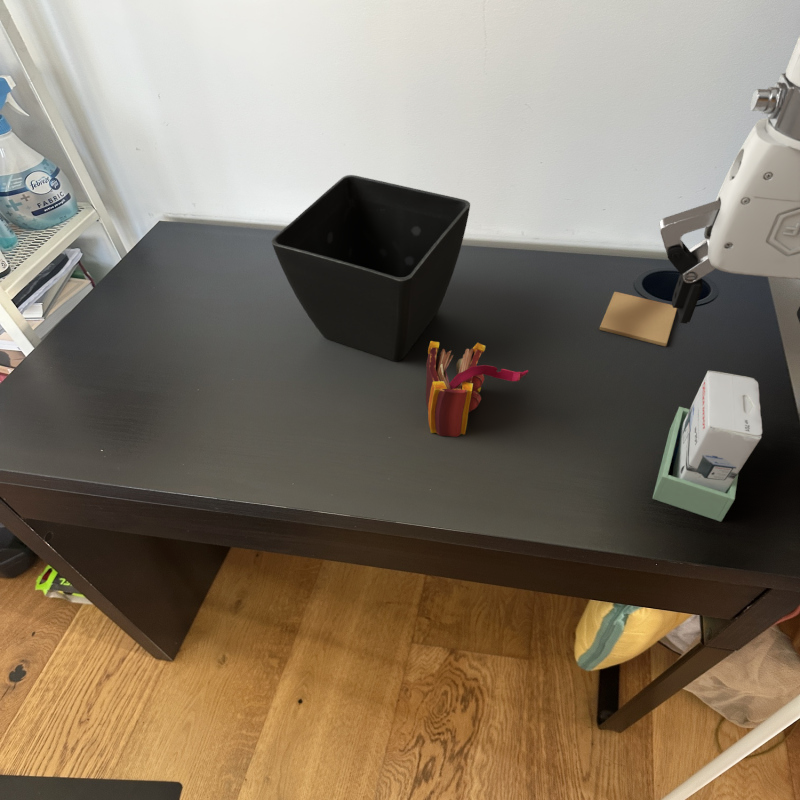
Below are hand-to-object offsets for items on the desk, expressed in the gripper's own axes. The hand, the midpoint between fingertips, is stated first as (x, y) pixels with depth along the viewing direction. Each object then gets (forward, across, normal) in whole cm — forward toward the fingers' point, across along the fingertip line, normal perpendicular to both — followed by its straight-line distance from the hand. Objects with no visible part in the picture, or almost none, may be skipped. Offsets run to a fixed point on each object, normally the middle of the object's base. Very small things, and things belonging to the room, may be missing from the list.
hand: (742, 319), depth 53 cm
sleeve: (+23, +3, +2) cm, 23 cm away
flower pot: (+23, -38, +21) cm, 49 cm away
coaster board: (+23, -2, +29) cm, 37 cm away
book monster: (+23, -23, +6) cm, 33 cm away
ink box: (+23, +3, +2) cm, 23 cm away
